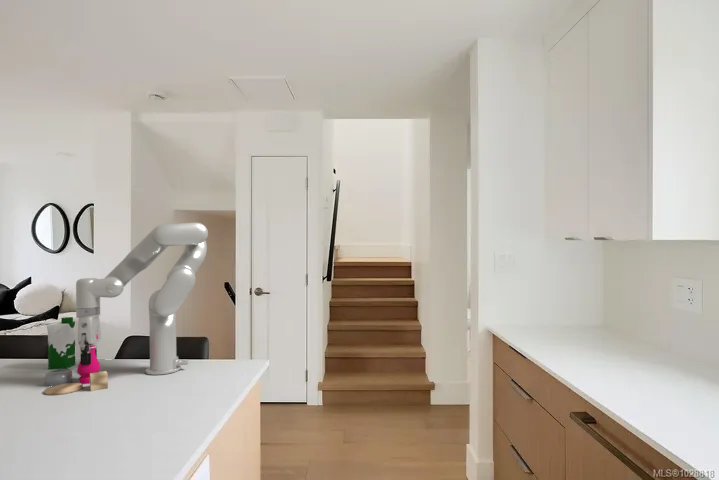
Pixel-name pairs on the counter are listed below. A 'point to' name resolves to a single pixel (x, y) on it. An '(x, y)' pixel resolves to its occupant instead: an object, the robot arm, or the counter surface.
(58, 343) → the milk carton
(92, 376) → the oak block
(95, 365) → the pepper mill
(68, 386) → the cork trivet
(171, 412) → the counter surface
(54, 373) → the grey rounded dome
